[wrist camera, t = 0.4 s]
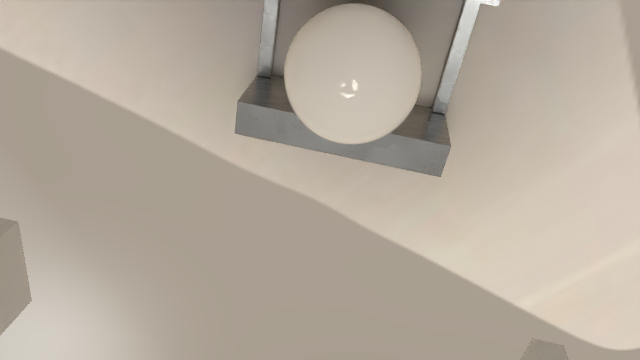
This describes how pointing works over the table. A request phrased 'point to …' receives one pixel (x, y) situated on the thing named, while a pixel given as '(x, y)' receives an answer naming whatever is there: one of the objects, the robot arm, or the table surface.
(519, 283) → the table surface
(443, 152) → the housing
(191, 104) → the table surface
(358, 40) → the lightbulb
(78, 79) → the table surface
